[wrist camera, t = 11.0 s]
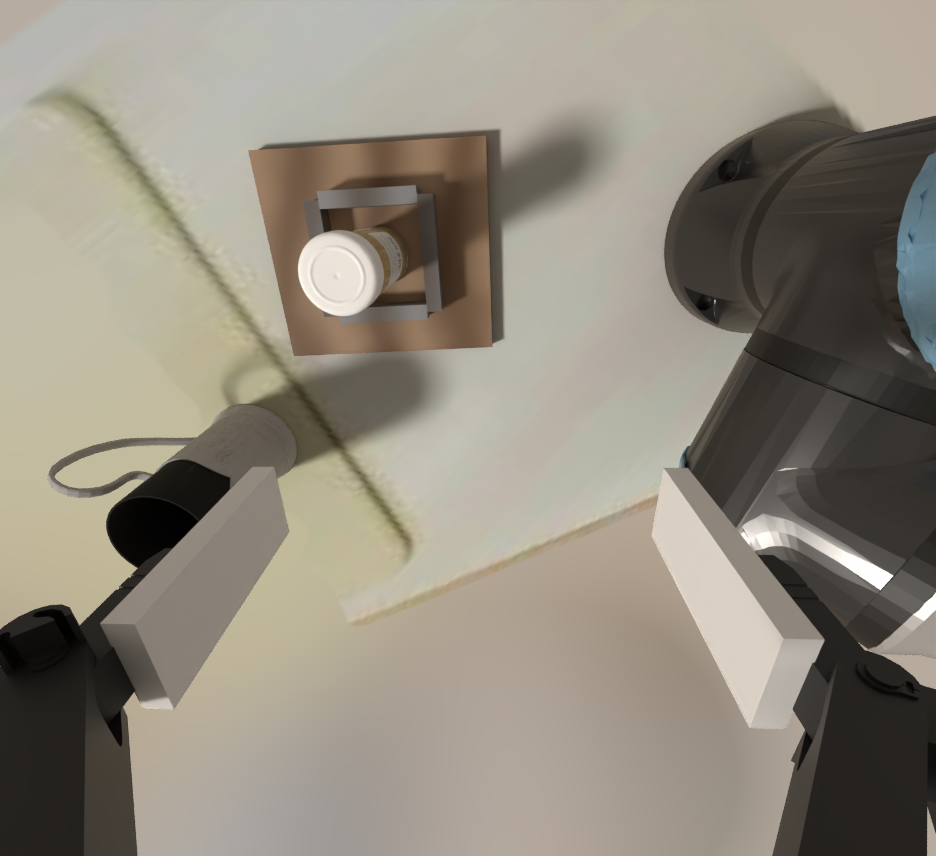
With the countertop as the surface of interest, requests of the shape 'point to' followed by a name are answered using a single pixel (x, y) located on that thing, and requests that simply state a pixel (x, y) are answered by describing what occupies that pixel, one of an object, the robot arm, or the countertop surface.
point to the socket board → (399, 209)
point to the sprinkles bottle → (351, 268)
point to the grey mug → (186, 478)
